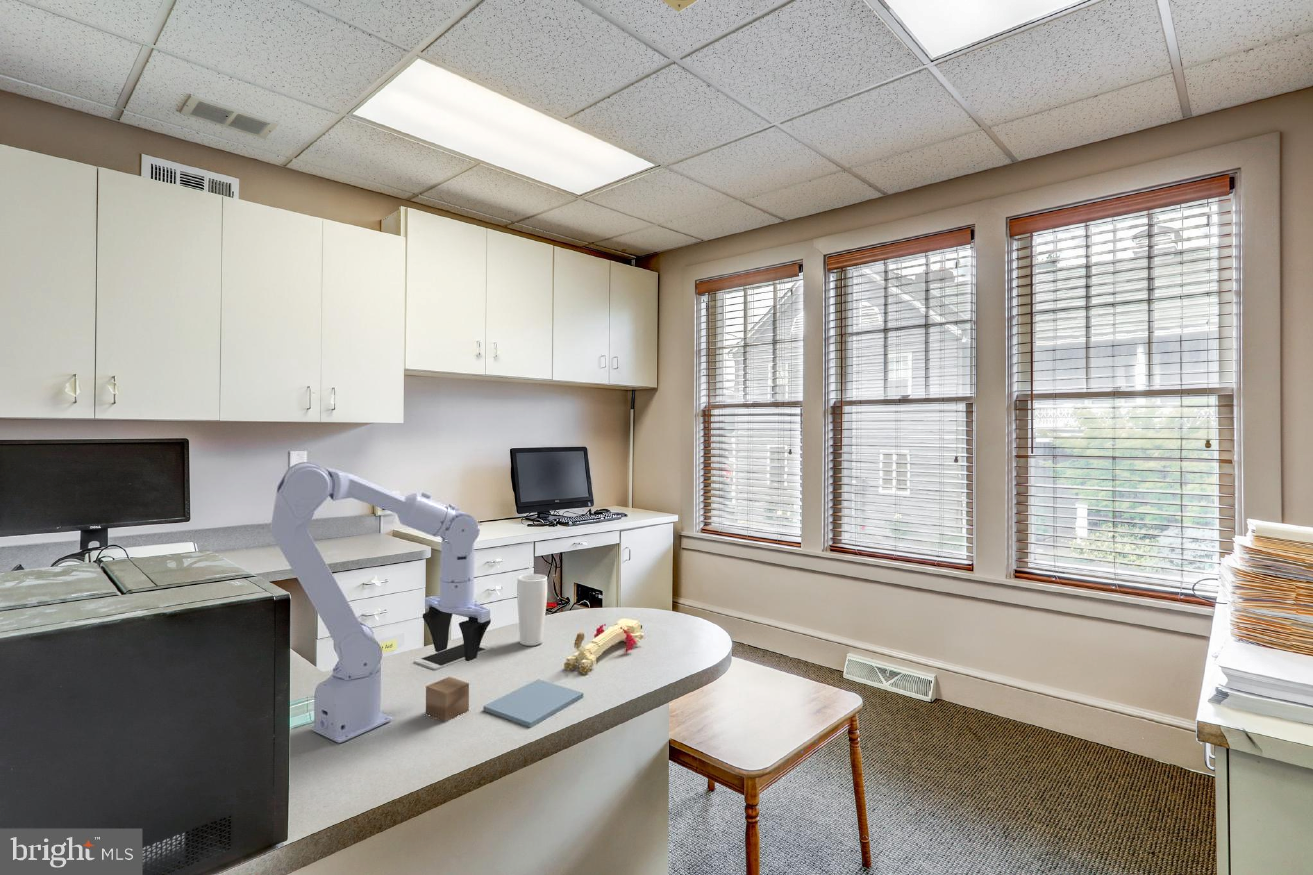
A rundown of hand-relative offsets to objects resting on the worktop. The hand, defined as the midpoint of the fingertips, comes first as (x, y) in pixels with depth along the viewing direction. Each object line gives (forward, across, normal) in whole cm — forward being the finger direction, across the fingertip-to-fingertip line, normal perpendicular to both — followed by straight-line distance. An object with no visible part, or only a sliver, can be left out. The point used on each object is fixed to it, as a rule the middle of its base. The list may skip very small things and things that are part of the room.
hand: (455, 654), depth 114 cm
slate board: (+9, -12, -8) cm, 17 cm away
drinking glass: (+9, +10, -31) cm, 33 cm away
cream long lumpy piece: (+9, -8, -36) cm, 38 cm away
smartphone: (+9, +18, -16) cm, 26 cm away
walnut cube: (+9, -2, +3) cm, 10 cm away
